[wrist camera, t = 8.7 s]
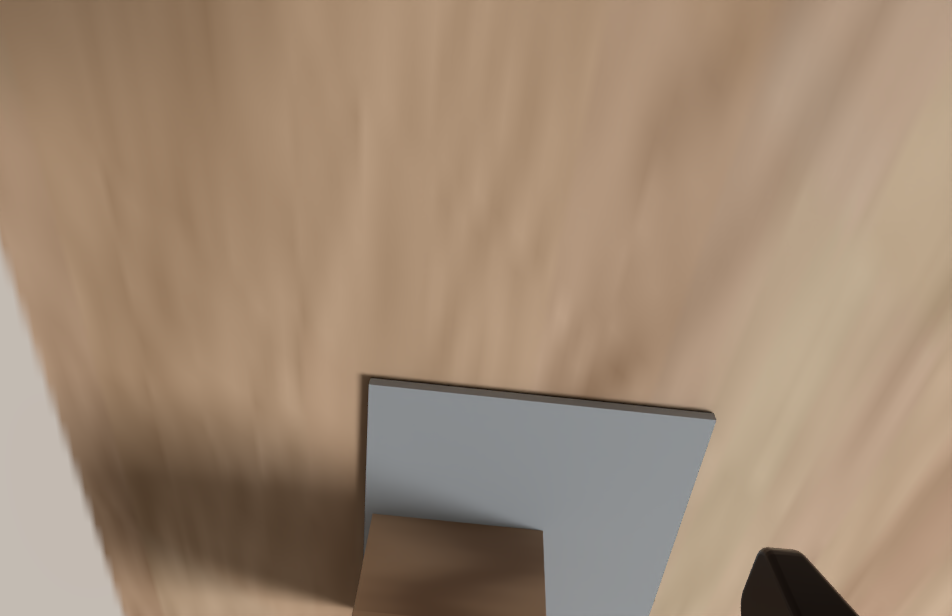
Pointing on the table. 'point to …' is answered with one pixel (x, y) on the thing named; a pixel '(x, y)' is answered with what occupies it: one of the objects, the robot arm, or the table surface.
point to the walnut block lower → (451, 569)
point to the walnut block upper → (372, 614)
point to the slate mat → (543, 480)
